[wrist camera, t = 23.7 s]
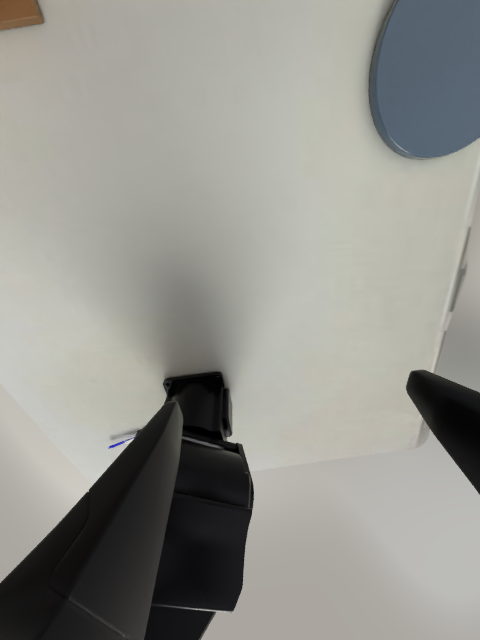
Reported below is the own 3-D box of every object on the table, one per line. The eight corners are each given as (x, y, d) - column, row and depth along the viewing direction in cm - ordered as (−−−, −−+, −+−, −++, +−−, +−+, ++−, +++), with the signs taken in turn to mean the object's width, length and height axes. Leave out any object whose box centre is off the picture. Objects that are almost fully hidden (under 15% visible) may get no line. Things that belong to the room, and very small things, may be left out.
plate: (360, 169, 16) (366, 167, 16) (380, -51, 12) (390, -67, 11) (498, 148, 16) (510, 146, 15) (571, -85, 12) (593, -103, 11)
